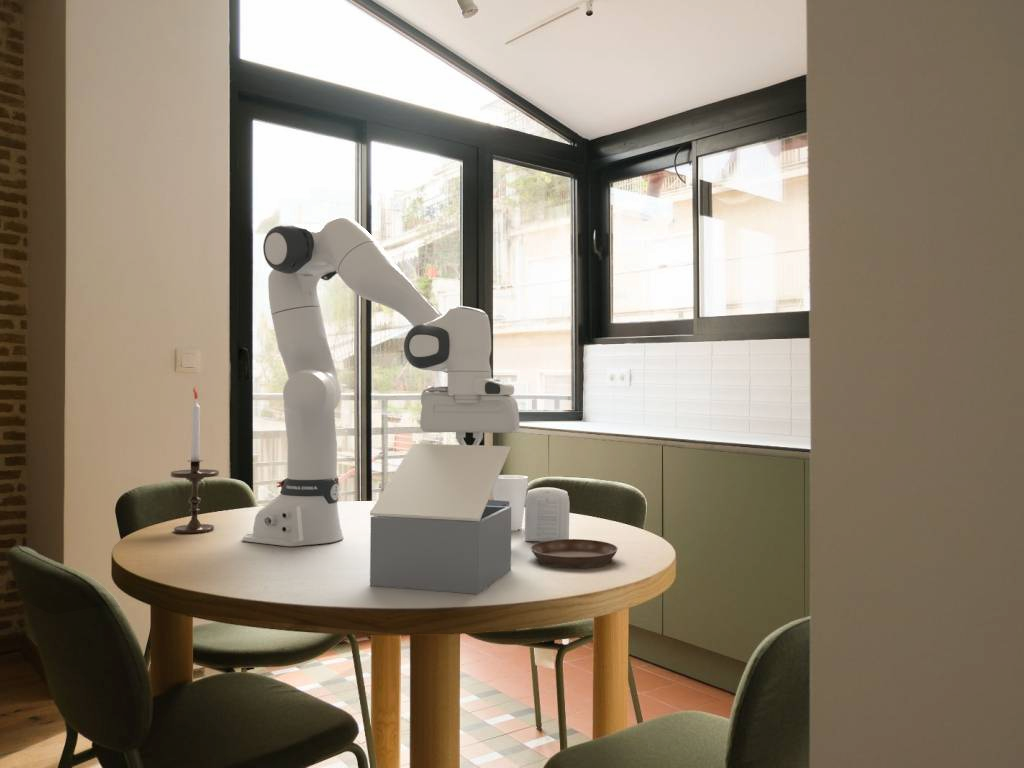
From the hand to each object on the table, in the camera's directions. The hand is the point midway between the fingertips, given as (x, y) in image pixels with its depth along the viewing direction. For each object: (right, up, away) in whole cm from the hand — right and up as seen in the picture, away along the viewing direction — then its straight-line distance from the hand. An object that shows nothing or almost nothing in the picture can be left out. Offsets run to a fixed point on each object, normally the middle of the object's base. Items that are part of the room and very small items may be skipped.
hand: (469, 455), depth 159 cm
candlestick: (-69, -22, +33) cm, 79 cm away
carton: (-4, -21, -14) cm, 26 cm away
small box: (+4, -22, +11) cm, 25 cm away
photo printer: (+17, -22, +23) cm, 36 cm away
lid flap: (-4, -3, -14) cm, 15 cm away
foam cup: (+8, -22, +40) cm, 46 cm away
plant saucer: (+21, -22, +2) cm, 31 cm away
